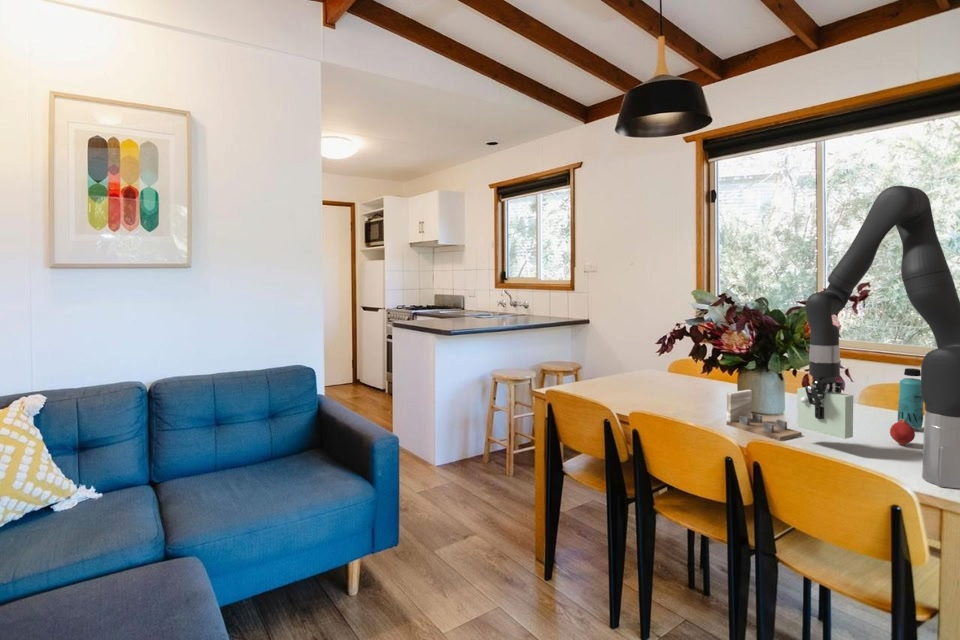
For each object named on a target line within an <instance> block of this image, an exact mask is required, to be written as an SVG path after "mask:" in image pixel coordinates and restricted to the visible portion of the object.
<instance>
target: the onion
mask: <svg viewBox="0 0 960 640" xmlns="http://www.w3.org/2000/svg"><path fill="white" fill-rule="evenodd" d="M889 434H890V435H889V436H890V437H891V438H892V439H893V441H895V442H896V443H898V445H900V446H905V445H907V444H910V443H911V442H912V441H914V439H915V437H916V431H915V428H914V427H912V426H911V425H909V424H908V423H907V422H906V421H905V420H904V419H901V420H900V421H899V422H895V423H893V424H892V425H891V426H890V428H889Z"/></svg>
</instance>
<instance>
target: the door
mask: <svg viewBox="0 0 960 640" xmlns="http://www.w3.org/2000/svg"><path fill="white" fill-rule="evenodd" d="M805 387H806V386H805ZM805 387H798V388H796V389H797V391H796V392H797V393H796V394H797V398H796V399H797V401H796V402H797V404H796V405H797V406H796V407H797V413H796V414H797V417H796V418H797V419H796V420H797V421H796V424H797V428H799V429H802V430H803V429H804V430H806V431H807V430H808V431H812V432H815V433H816V432H817V433H820V434H824V435H829V436H832V437H836V438H840V439H844V440H845V439H851V438H853V437H854V395H852V394H847V393H842V392H841V393H836V392H828V393H826V399H825V400H824V406H823V407H824V419H817V418H815V406H814V405H812V404H809V401H808V397H807V393H806V390H805ZM818 395H819V396H822V395H821V394H818ZM812 399H813V400H814V398H812ZM820 400H821V399H820V398H819V401H820Z"/></svg>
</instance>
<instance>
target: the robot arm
mask: <svg viewBox="0 0 960 640" xmlns="http://www.w3.org/2000/svg"><path fill="white" fill-rule="evenodd" d="M935 226H936V225H935V222H934V218H933V211H932V205H931V201H930V198H929V196H928V195H927V193H925V191H923V190H922V189H920V188H918V187H913V186H907V185H892V186H890V187H887V188H885V189H883V190H882V191H881V192H880V193H879V194H878V195H877V197H876V199H875V200H874V201H873V203H872V206H871V208H870V209H869V211H868V214H867V216H866V217H865V219H864V221H863V222H862V225H861V227H860V228H859V231H858V232H857V234H856V235H855V237H854V239H853V241H852V242H851V244H850V246H849V248H847V250H846V252H845V254H844V255H843V256H842V258H841V259H840V260H839V261H838V263H837V264H836V266H835V267H834V268H833V269H832V271H831V273H830V274H829V275H828V277H827V281H828V283H829V284H828V286H827V288H826V289H825V290H824V291H820V292H815V293H814V292H813V293H811V294H810V295H809V297H808V298H807V299H806V302H805V308H804V309H805V315H806V319H807V324H808V326H809V330H810V332H809V333H810V334H809V337H810V338H809V341H810V342H809V350H808V351H809V353H808V374H809V376H811V377H812V382H811V384H810V385H806V386H805V390H806V393H807V397H808V401H809V404H812V405H814V406H815V418H817V419H824V407H823V406H824V400H825V399H826V393H828V392H836V393H842V391H843V385H844V383H843V382H841V381H837V379H836V378H839V377H840V376H841V351H840V331H839V329H840V328H839V327H838V326H837V325H835V324H834V322H833V316H834V315H837V314H839V313H840V312H841V311H842V310H844V308H845V307H846V305H847V304H848V302H849V300H850V298H851V296H852V294H853V291H854V289H855V288H856V287H857V285H858V284H859V283H860V282H861V280H862V279H863V278H864V277H865V275H866V274H867V272H868V271H869V270H870V268H871V266H872V265H873V263H874V260H875V258H876V254H877V252H878V250H879V247H880V245H881V244H882V242H883V240H884V239H885V238H886V236H887V235H888V233H889V232H890V231H891V230H892V229H893V228H894V227H895V228H896V230H897V232H898V235H899V237H900V241H901V245H902V258H901V265H900V266H901V268H900V274H901V280H902V283H903V286H904V289H905V292H906V296H907V298H908V301H909V302H910V304H911V305H912V306H913V308H914V309H915V311H916V312H917V313H918V315H920V316H921V317H922V319H923V320H924V322H925V323H926V324H927V325H928V327H929V328H930V330H931V331H932V335H933V336H934V339H935V344H936V346H937V348H935V349H932V350H930V351H929V352H928V353H926V354H925V356H924V357H923V359H922V362H921V367H920V368H921V369H920V372H921V376H920V380H921V395H922V399H923V401H924V402H923V404H924V420H923V425H924V426H923V445H922V446H923V447H922V472H921V473H922V474H921V477H922V479H923V480H925V481H926V482H929V483H932V484H934V485H937V486H938V487H941V488H942V487H943V488H951V489H959V490H960V297H959V294H958V292H957V287H956V285H955V280H954V278H953V276H952V272H951V269H950V268H949V265H948V263H947V260H946V257H945V254H944V251H943V248H942V245H941V243H940V240H939V238H938V235H937V231H936V227H935ZM818 394H821V395H822V396H819V395H818ZM812 398H814V400H813V399H812ZM819 398H820V399H821V400H820V401H819Z"/></svg>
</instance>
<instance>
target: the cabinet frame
mask: <svg viewBox="0 0 960 640" xmlns="http://www.w3.org/2000/svg"><path fill="white" fill-rule="evenodd" d="M752 394H753V393H752V390H751V389H744V390H737V391H730V392H726V425H727V426H729V427H730V426H731V427H733V428H737V429H739V430H744V431H747V432H750V433H753V434H757V435H760V436H763V437H766V438H769V437H770V439H773V438H774V439H773V440H777V441H785V440H789V439H794V438H798V437H802V435H803V433H802V431H798V430H796V429H795V430H794V429H792V428H791V429H790V428H788V422H787V421H785V420H782V419H775V422H776V424H774V423H770V422H766V421H763V414H759V413H756V412H754V413H752V403H753V402H752V401H753V400H752V396H753V395H752Z"/></svg>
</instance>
